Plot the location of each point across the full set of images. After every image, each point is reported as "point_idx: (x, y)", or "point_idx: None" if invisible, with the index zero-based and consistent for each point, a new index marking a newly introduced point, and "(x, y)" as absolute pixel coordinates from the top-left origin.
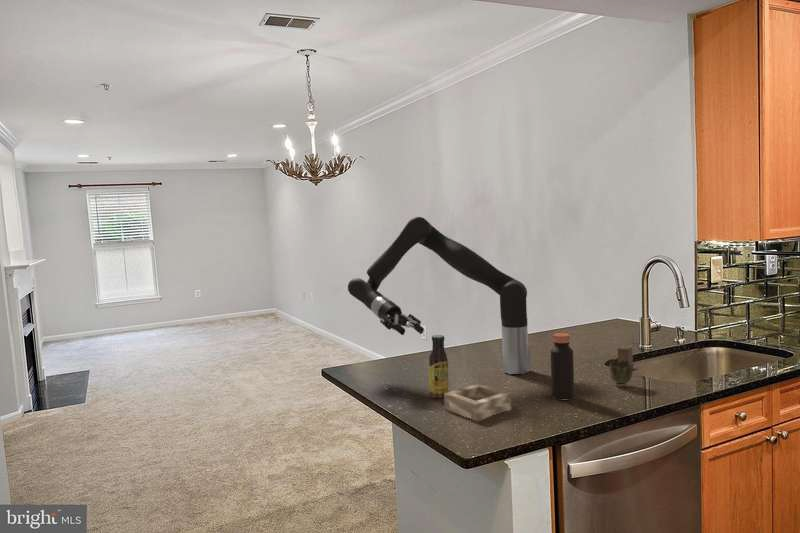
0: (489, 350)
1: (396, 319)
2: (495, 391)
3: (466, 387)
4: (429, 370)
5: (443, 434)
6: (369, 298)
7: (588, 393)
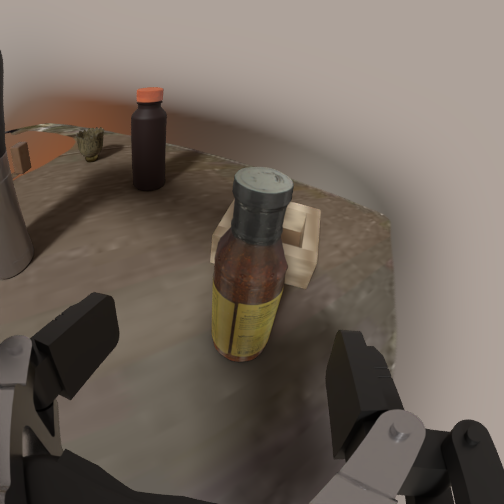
0: None
1: (365, 494)
2: None
3: None
4: (276, 306)
5: (376, 250)
6: None
7: (124, 171)
